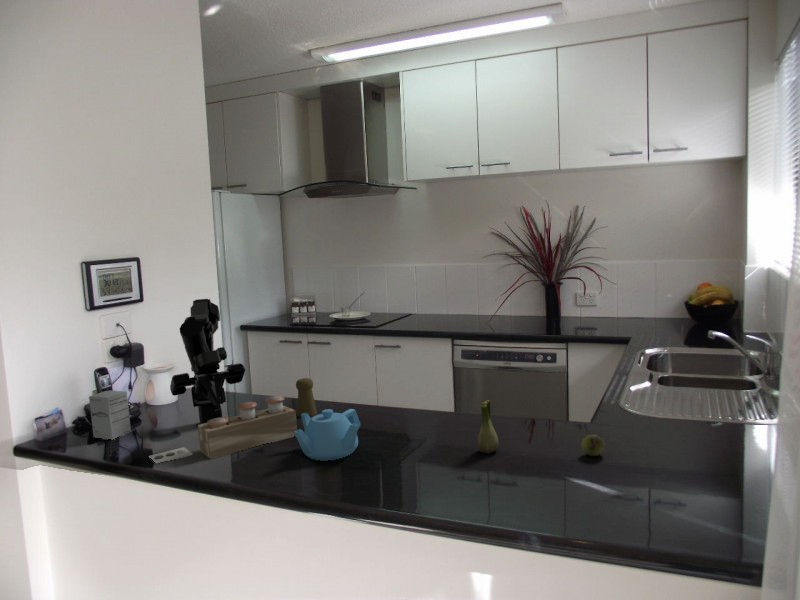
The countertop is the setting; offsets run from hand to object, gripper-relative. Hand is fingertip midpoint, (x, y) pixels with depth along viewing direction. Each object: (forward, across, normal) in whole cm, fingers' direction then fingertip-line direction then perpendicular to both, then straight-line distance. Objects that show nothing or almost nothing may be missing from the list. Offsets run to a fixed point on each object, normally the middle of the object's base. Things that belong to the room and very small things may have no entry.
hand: (218, 405), depth 160 cm
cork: (0, +31, +18) cm, 36 cm away
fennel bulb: (+44, +47, -26) cm, 69 cm away
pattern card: (+4, -12, +13) cm, 18 cm away
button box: (+8, +7, +8) cm, 14 cm away
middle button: (+5, +7, +5) cm, 10 cm away
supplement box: (-18, -19, +35) cm, 44 cm away
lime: (+57, +61, -40) cm, 93 cm away
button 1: (+6, -1, +6) cm, 9 cm away
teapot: (+24, +19, -7) cm, 32 cm away
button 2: (+5, +16, +5) cm, 17 cm away
